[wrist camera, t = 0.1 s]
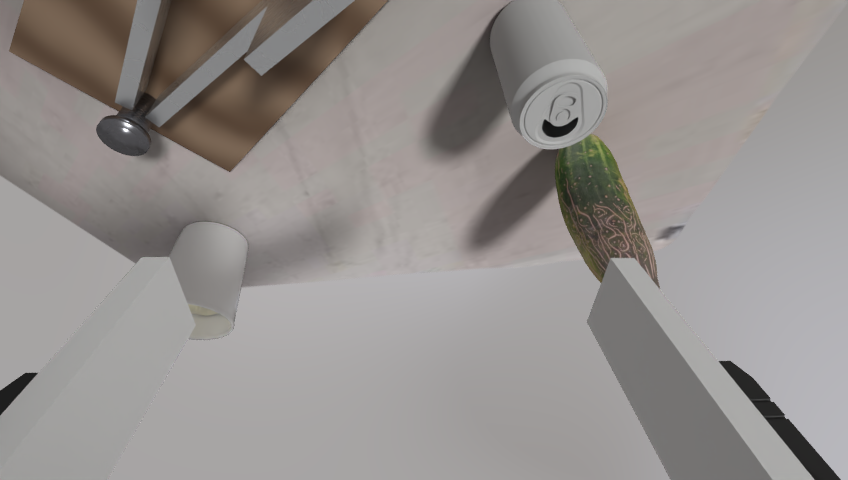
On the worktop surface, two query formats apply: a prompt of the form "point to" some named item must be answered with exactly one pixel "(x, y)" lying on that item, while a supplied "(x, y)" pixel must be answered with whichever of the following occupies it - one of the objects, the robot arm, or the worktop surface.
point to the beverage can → (547, 74)
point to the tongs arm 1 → (141, 50)
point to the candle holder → (210, 275)
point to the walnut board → (182, 64)
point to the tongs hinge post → (128, 128)
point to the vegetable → (600, 208)
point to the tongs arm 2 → (249, 47)
